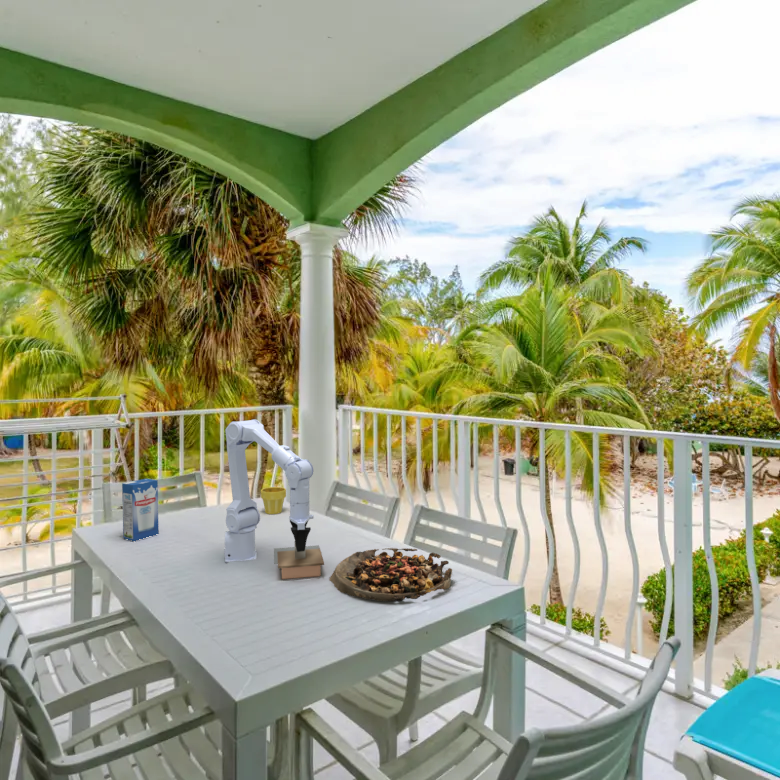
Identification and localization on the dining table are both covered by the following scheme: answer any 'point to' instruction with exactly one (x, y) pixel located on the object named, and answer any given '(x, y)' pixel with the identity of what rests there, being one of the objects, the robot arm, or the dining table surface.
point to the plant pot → (273, 499)
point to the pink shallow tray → (301, 572)
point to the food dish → (389, 575)
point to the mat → (290, 550)
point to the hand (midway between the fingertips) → (300, 547)
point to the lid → (299, 558)
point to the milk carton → (140, 509)
